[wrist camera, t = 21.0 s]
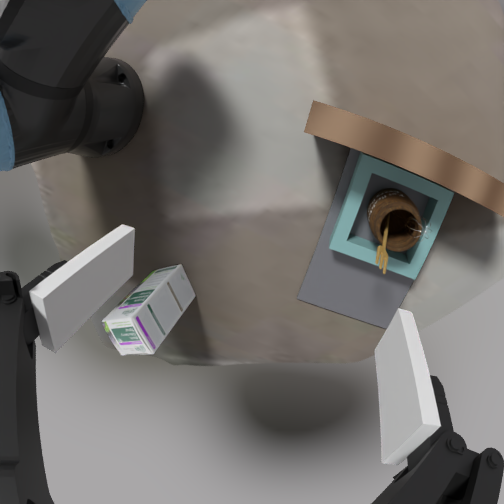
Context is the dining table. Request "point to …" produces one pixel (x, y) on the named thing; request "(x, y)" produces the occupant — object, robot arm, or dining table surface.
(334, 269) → the grey flat plate
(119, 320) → the syrup box
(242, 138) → the dining table surface
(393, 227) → the utensil holder
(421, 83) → the dining table surface
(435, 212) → the socket frame
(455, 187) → the backstop wall
